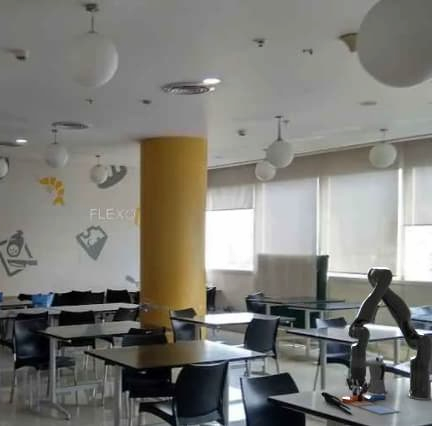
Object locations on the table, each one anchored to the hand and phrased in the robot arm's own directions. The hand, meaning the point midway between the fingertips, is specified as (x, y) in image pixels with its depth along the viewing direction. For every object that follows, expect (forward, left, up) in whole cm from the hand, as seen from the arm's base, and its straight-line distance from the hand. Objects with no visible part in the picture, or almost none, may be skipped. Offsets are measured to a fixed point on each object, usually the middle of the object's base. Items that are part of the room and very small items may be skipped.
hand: (357, 400), depth 306 cm
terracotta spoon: (+2, 0, 0) cm, 2 cm away
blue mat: (+2, +15, 0) cm, 15 cm away
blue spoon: (-12, 0, 0) cm, 12 cm away
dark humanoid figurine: (+17, +7, -1) cm, 18 cm away
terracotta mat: (+2, 0, 0) cm, 2 cm away
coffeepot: (-28, -13, -1) cm, 31 cm away
